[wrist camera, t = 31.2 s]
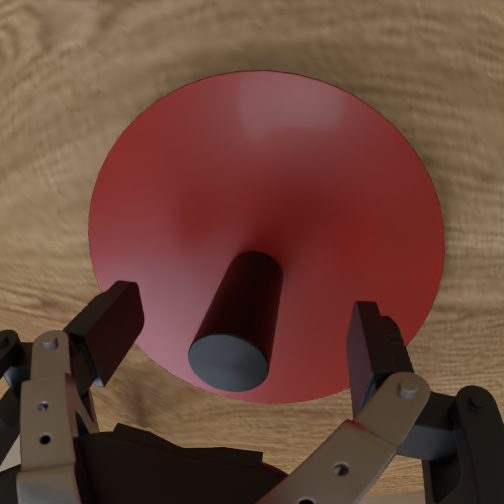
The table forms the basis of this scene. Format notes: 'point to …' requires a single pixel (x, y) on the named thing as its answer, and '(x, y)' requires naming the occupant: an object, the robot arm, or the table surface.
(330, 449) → the robot arm
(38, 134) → the table surface
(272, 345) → the pot lid
